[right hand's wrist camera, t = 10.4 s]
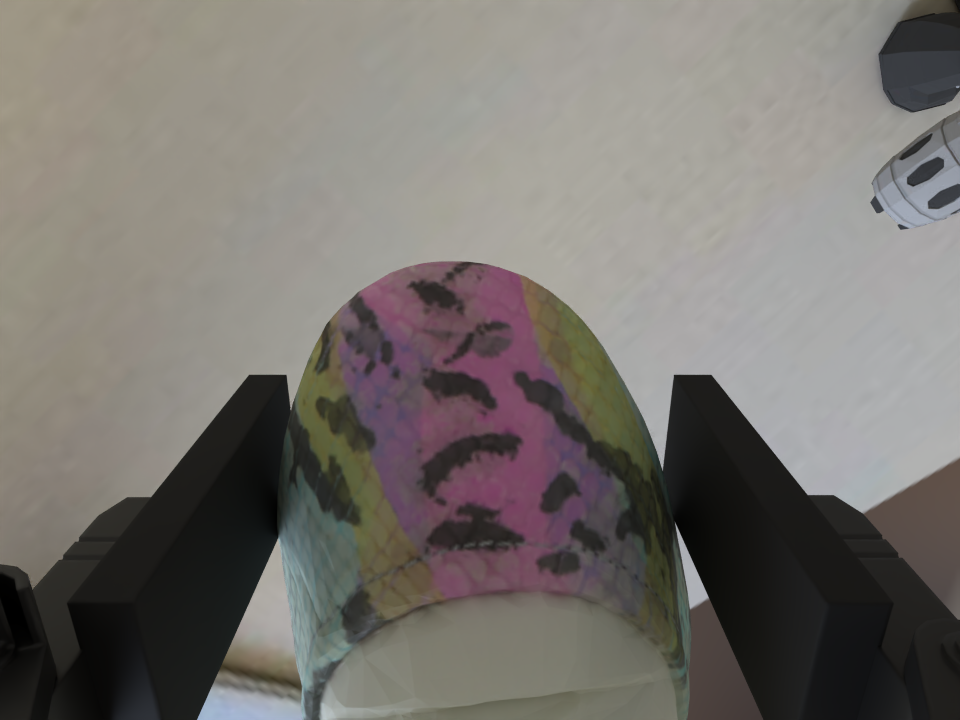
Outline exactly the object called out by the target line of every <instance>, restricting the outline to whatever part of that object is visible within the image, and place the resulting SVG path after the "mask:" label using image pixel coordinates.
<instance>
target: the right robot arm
mask: <svg viewBox="0 0 960 720" xmlns="http://www.w3.org/2000/svg"><path fill="white" fill-rule="evenodd" d="M290 413H291V410H290V401H289V393H288V384H287V375H249V376H248V377H247V378H246V379H245V381H244V382H243V383H242V384H241V386H240V387H239V388H238V389H237V391H236V392H235V393H234V394H233V396H232V397H231V398H230V399H229V401H228V402H227V403H226V404H225V406H224V407H223V408H222V409H221V411H220V412H219V413H218V414H217V416H216V417H215V418H214V419H213V421H212V422H211V423H210V424H209V426H208V427H207V428H206V429H205V431H204V432H203V433H202V434H201V436H200V437H199V438H198V439H197V441H196V442H195V443H194V444H193V446H192V447H191V448H190V449H189V451H188V452H187V453H186V454H185V456H184V457H183V458H182V459H181V461H180V462H179V463H178V464H177V466H176V467H175V468H174V469H173V471H172V472H171V473H170V474H169V476H168V477H167V478H166V479H165V481H164V482H163V483H162V484H161V486H160V487H159V488H158V489H157V491H156V492H155V493H154V494H153V496H152V497H127V498H126V499H124V500H122V501H121V502H119V503H118V504H116V505H115V506H113V507H111V508H110V509H108V510H107V511H105V512H104V513H102V514H100V515H99V516H98V517H97V518H96V519H95V520H94V521H93V522H92V523H91V525H90V526H89V527H88V528H87V529H86V530H85V531H84V532H83V534H82V535H81V536H80V537H79V542H75V543H74V544H73V545H72V546H71V547H70V548H69V549H68V550H67V552H66V553H65V554H64V555H63V560H59V561H58V562H57V563H56V564H55V565H54V566H53V567H52V568H51V570H50V571H49V572H48V573H47V574H46V575H45V576H44V577H43V579H42V580H41V581H40V582H39V583H38V584H37V585H36V586H35V588H34V589H33V590H32V587H31V584H30V580H29V577H28V575H27V574H26V573H25V572H23V571H22V570H21V569H19V568H18V567H15V566H8V565H1V564H0V720H197V718H198V716H199V714H200V712H201V709H202V707H203V705H204V703H205V701H206V698H207V696H208V694H209V692H210V689H211V687H212V685H213V683H214V680H215V678H216V676H217V674H218V671H219V669H220V667H221V665H222V662H223V660H224V658H225V656H226V654H227V651H228V649H229V647H230V645H231V642H232V640H233V638H234V636H235V633H236V631H237V629H238V627H239V624H240V622H241V620H242V618H243V615H244V613H245V611H246V609H247V607H248V604H249V602H250V600H251V598H252V595H253V593H254V591H255V589H256V586H257V584H258V582H259V580H260V577H261V575H262V573H263V571H264V569H265V566H266V564H267V562H268V560H269V557H270V555H271V553H272V551H273V548H274V546H275V544H276V542H277V539H278V532H277V495H278V484H279V474H280V465H281V458H282V451H283V444H284V438H285V434H286V430H287V425H288V421H289V417H290ZM663 474H664V478H665V481H666V484H667V488H668V492H669V497H670V501H671V506H672V510H673V515H674V520H675V523H676V525H677V527H678V529H679V532H680V534H681V536H682V538H683V541H684V543H685V545H686V547H687V550H688V552H689V554H690V556H691V559H692V561H693V563H694V565H695V567H696V570H697V572H698V574H699V576H700V579H701V581H702V583H703V585H704V588H705V590H706V592H707V594H708V597H709V599H710V601H711V603H712V605H713V608H714V610H715V612H716V614H717V617H718V619H719V621H720V623H721V626H722V628H723V630H724V632H725V635H726V637H727V639H728V641H729V643H730V646H731V648H732V650H733V652H734V655H735V657H736V659H737V661H738V664H739V666H740V668H741V670H742V673H743V675H744V677H745V679H746V682H747V684H748V686H749V688H750V691H751V693H752V695H753V697H754V699H755V702H756V704H757V706H758V708H759V711H760V713H761V715H762V717H763V720H960V620H958V619H957V618H956V617H955V616H954V615H953V614H952V613H951V612H950V611H949V609H948V608H947V607H946V606H945V605H944V604H943V603H942V602H941V600H940V599H939V598H938V597H937V596H936V595H935V594H934V593H933V592H932V590H931V589H930V588H929V587H928V586H927V585H926V584H925V583H924V581H923V580H922V579H921V578H920V577H919V576H918V575H917V574H916V573H915V571H914V570H913V569H912V568H911V567H910V566H909V565H908V564H907V562H906V561H905V560H904V559H903V558H899V557H898V552H897V551H896V550H895V549H894V548H893V547H892V546H891V545H890V543H889V542H888V541H887V540H885V539H882V535H881V534H880V532H879V531H878V530H877V529H876V528H875V527H874V526H873V525H872V523H871V522H870V521H869V520H868V519H867V518H866V517H865V516H864V514H863V513H861V512H859V511H858V510H856V509H855V508H853V507H851V506H850V505H848V504H847V503H845V502H844V501H842V500H840V499H839V498H837V497H836V496H834V495H807V494H806V493H805V491H804V490H803V489H802V488H801V486H800V485H799V484H798V483H797V481H796V480H795V479H794V478H793V476H792V475H791V474H790V473H789V471H788V470H787V469H786V468H785V466H784V465H783V464H782V463H781V461H780V460H779V459H778V458H777V456H776V455H775V454H774V453H773V451H772V450H771V449H770V448H769V446H768V445H767V444H766V443H765V441H764V440H763V439H762V438H761V436H760V435H759V434H758V433H757V431H756V430H755V429H754V428H753V426H752V425H751V424H750V423H749V421H748V420H747V419H746V418H745V416H744V415H743V414H742V413H741V411H740V410H739V409H738V408H737V406H736V405H735V404H734V403H733V401H732V400H731V399H730V398H729V396H728V395H727V394H726V393H725V391H724V390H723V389H722V388H721V386H720V385H719V384H718V383H717V381H716V380H715V379H714V378H713V376H712V375H674V380H673V388H672V397H671V406H670V414H669V423H668V431H667V440H666V448H665V457H664V466H663Z"/></svg>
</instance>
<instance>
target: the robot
mask: <svg viewBox="0 0 960 720" xmlns="http://www.w3.org/2000/svg"><path fill="white" fill-rule="evenodd" d="M955 2H956V4H957V6H958V9H959V11H960V0H955ZM879 60H880V68H881V75H882V82H883V90H884V92H885V93H886V95H887V97H888V98H889V100H890V101H891V103H892V104H894V105H896V106H898V107H900V108H902V109H904V110H907V111H909V112H917V111H921V110H925V109H929V108H933V107H937V106H941V105H945V104H946V103H947V102H950V101H952V100H953V99H954V97H955V96H956V95H957V93H958V92H959V91H960V13H940V14H935V13H933V14H928V15H924V16H921V17H917V18H913V19H909V20H905V21H901V22H898V24H897V25H896V27H895V29H894V30H893V32H892V33H891V35H890V37H889V38H888V40H887V42H886V43H885V45H884V46H883V48H882V50H881V51H880V53H879ZM872 185H873V188H874V193H875V196H874V198H873V199H872V201H871V202H870V203H871V204H872V206H873V208H874V209H875V211H876V213H881V212H882V211H885V212H886V213H887V214H888V215H889V216H890V217H892V218H893V219H894V220H895V221H896V222H897V223H899V225H898V227H899V228H900V230H902V229H909V228H914V227H919V226H923V225H926V224H929V223H932V222H936V221H940V220H943V219H946V218H947V217H950V216H952V215H954V214H956V213H958V212H960V111H958V112H956V113H954V114H952V115H950V116H948V117H947V118H944V119H943V120H941V121H940V122H939V123H937V124H936V125H934V126H933V127H932V128H930V129H929V130H927V131H926V132H925V133H923V134H922V135H920V136H919V137H918V138H916V139H915V140H914V141H913V142H912V143H910V144H909V145H908V146H907V147H905V148H904V149H903V150H902V151H900V152H899V153H898V154H897V155H896V156H893V157H892V158H891V159H890V160H889V161H888V162H887V163H886V164H885V165H884V166H883V167H882V168H881V170H880V171H879V172H878V173H877V175H876V176H875V178H874V180H873V182H872Z"/></svg>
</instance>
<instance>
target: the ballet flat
mask: <svg viewBox="0 0 960 720" xmlns="http://www.w3.org/2000/svg"><path fill="white" fill-rule="evenodd" d="M277 532H278V539H279V544H280V549H281V556H282V563H283V570H284V577H285V583H286V589H287V595H288V601H289V606H290V612H291V623H292V630H293V635H294V647H295V654H296V662H297V667H298V671H299V676H300V680H301V683H302V702H301V709H302V718H303V720H687V715H688V706H689V674H688V669H689V664H690V648H691V619H690V608H689V600H688V592H687V586H686V581H685V575H684V570H683V564H682V559H681V553H680V548H679V543H678V538H677V532H676V526H675V520H674V515H673V510H672V506H671V501H670V497H669V492H668V488H667V484H666V481H665V478H664V474H663V471H662V468H661V464H660V461H659V458H658V455H657V451H656V449H655V446H654V444H653V441H652V438H651V436H650V433H649V431H648V428H647V426H646V423H645V421H644V419H643V417H642V415H641V413H640V411H639V409H638V407H637V405H636V403H635V402H634V400H633V398H632V396H631V394H630V392H629V390H628V389H627V387H626V385H625V383H624V381H623V380H622V378H621V376H620V375H619V373H618V371H617V370H616V368H615V366H614V365H613V363H612V361H611V360H610V358H609V356H608V354H607V353H606V351H605V349H604V348H603V346H602V345H601V343H600V342H599V341H598V339H597V338H596V337H595V335H594V334H593V333H592V331H591V330H590V329H589V328H588V326H587V325H586V324H585V323H584V322H583V320H582V319H581V318H580V317H579V316H578V315H577V314H576V313H575V312H574V311H573V310H572V309H571V308H570V307H569V306H567V305H566V304H565V303H564V302H563V301H561V300H560V299H559V298H558V297H556V296H555V295H554V294H553V293H551V292H550V291H549V290H547V289H545V288H544V287H542V286H540V285H539V284H537V283H535V282H534V281H532V280H530V279H529V278H527V277H525V276H522V275H519V274H516V273H513V272H510V271H508V270H505V269H502V268H499V267H495V266H491V265H488V264H481V263H473V262H431V263H423V264H419V265H414V266H410V267H406V268H403V269H400V270H397V271H395V272H392V273H390V274H388V275H386V276H385V277H383V278H381V279H380V280H378V281H376V282H375V283H373V284H371V285H370V286H368V287H366V288H365V289H363V290H361V291H360V292H358V293H357V294H356V295H355V296H354V297H353V298H352V299H351V300H350V301H348V302H347V303H346V304H345V305H344V306H342V307H341V308H340V310H339V311H338V312H337V313H336V314H335V315H334V316H333V317H332V318H331V320H330V321H329V322H328V323H327V324H326V326H325V328H324V330H323V332H322V334H321V336H320V338H319V340H318V342H317V343H316V345H315V347H314V350H313V352H312V354H311V356H310V358H309V360H308V363H307V366H306V368H305V371H304V374H303V377H302V380H301V382H300V385H299V388H298V391H297V394H296V396H295V399H294V402H293V405H292V409H291V413H290V417H289V421H288V425H287V430H286V434H285V438H284V444H283V451H282V458H281V465H280V474H279V484H278V495H277Z"/></svg>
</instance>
